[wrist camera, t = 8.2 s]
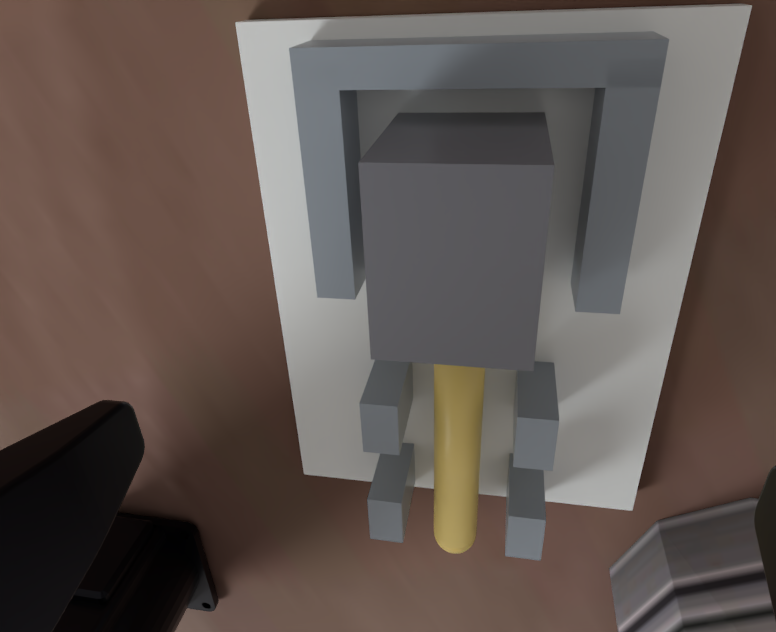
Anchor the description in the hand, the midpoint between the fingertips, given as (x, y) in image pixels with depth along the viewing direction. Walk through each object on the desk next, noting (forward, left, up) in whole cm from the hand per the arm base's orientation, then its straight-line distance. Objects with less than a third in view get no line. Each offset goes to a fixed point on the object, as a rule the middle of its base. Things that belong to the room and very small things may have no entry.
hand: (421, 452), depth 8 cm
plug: (-5, 0, -11) cm, 12 cm away
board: (-4, 0, -12) cm, 12 cm away
